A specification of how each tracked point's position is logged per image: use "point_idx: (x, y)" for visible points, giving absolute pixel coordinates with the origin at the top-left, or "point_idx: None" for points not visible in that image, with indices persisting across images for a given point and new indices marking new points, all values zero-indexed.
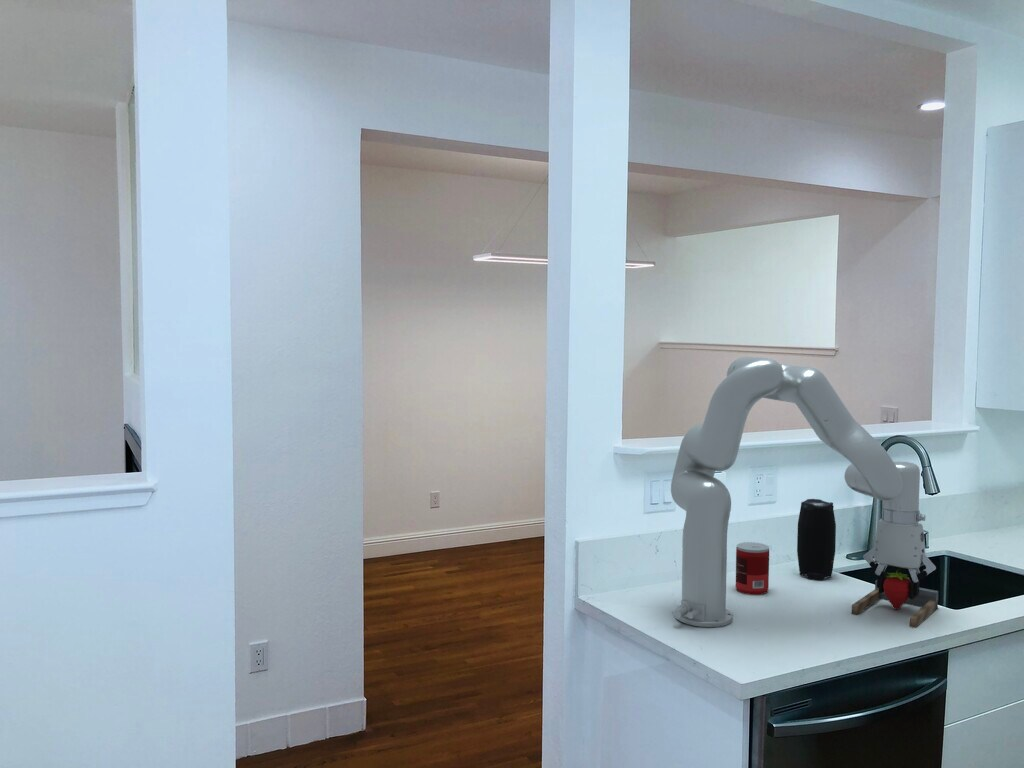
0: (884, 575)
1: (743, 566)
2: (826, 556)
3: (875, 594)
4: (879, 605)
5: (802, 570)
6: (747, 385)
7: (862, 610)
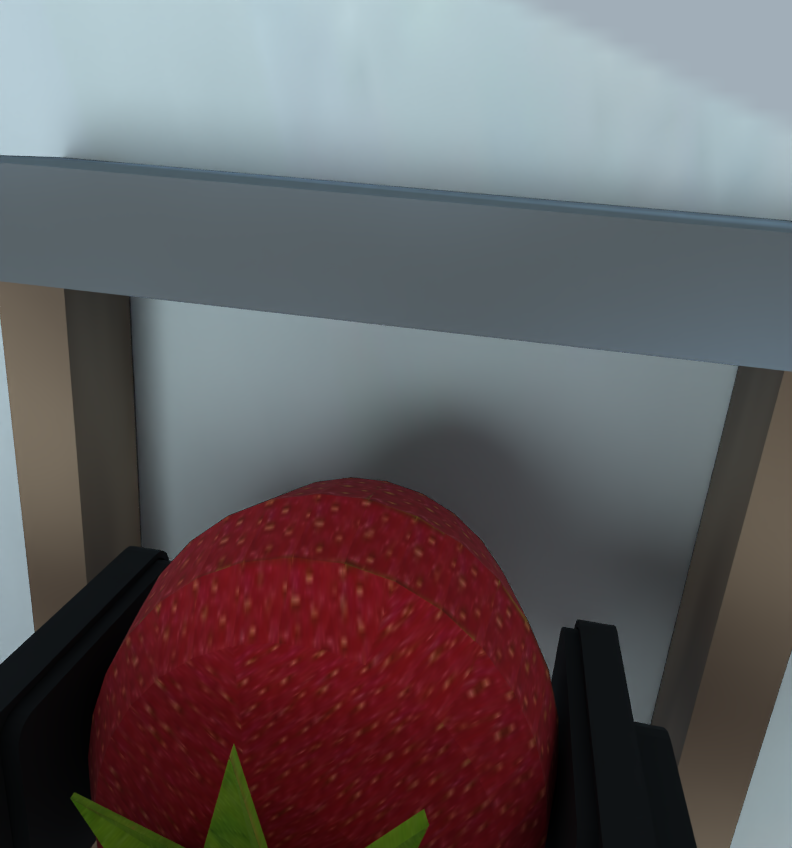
0: (26, 835)
1: None
2: None
3: (84, 447)
4: (211, 515)
5: None
6: None
7: None
